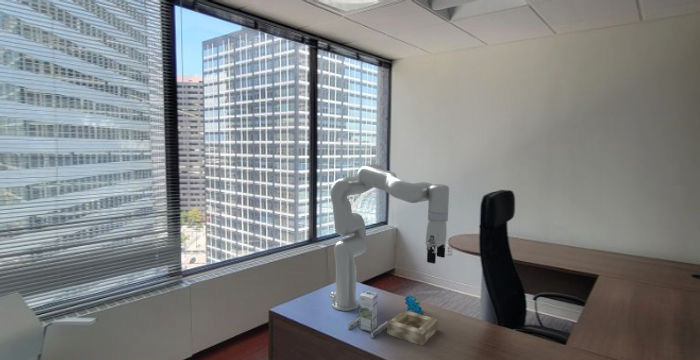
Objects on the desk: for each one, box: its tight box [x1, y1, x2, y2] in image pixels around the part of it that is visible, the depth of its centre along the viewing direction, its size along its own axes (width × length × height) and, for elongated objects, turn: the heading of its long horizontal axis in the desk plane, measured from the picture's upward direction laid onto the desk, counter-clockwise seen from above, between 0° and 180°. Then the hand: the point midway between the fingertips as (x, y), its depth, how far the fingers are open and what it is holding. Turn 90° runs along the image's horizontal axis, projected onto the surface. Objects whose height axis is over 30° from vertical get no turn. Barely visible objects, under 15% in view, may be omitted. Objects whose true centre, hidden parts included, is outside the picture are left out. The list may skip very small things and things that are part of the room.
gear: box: [404, 295, 423, 315], centre depth 167 cm, size 11×6×10 cm
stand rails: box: [347, 316, 389, 339], centre depth 152 cm, size 12×12×2 cm
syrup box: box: [358, 290, 379, 333], centre depth 152 cm, size 6×6×14 cm
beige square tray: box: [386, 309, 439, 346], centre depth 150 cm, size 15×15×4 cm
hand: (436, 259), depth 146 cm, fingers open, 9 cm apart
